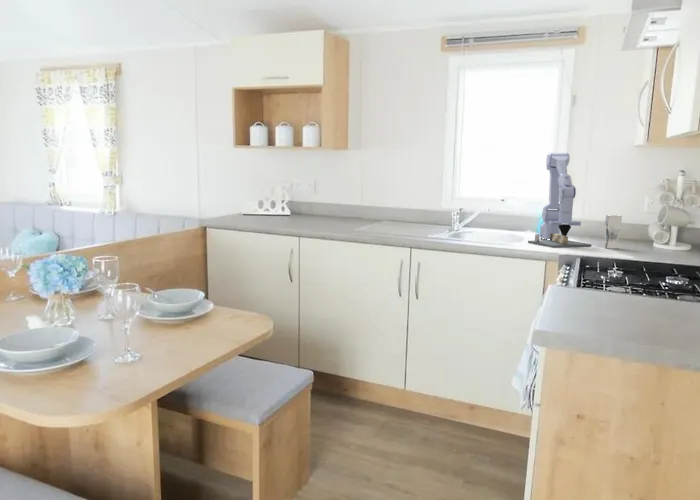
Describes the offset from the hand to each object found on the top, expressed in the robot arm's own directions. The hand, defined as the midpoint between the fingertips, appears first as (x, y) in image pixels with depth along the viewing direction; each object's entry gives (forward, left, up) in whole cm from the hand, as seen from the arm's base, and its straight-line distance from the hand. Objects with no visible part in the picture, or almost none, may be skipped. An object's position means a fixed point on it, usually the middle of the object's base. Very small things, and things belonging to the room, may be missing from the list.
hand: (563, 240), depth 261 cm
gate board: (-3, 0, -2) cm, 4 cm away
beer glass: (+13, +16, -2) cm, 21 cm away
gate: (-3, -1, -1) cm, 3 cm away
